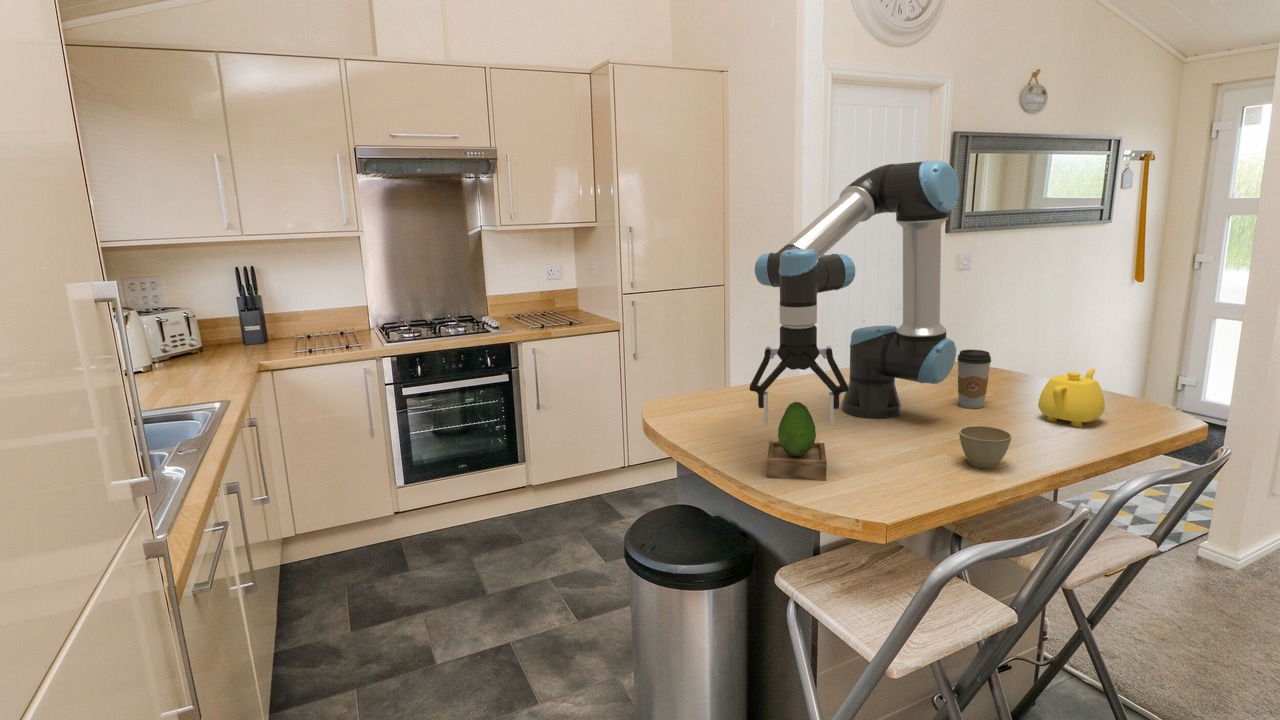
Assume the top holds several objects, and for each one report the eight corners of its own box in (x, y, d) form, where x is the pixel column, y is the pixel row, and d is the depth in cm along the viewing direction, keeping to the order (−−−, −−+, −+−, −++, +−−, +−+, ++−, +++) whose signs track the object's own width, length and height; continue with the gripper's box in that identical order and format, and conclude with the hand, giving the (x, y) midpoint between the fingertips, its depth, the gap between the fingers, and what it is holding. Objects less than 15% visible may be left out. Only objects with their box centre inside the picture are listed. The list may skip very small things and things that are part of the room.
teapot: (1117, 418, 177) (1123, 370, 174) (1081, 434, 165) (1086, 384, 163) (1061, 407, 187) (1066, 362, 185) (1023, 421, 176) (1027, 374, 174)
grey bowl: (948, 458, 154) (950, 427, 152) (991, 455, 155) (993, 424, 153) (973, 474, 144) (975, 441, 142) (1019, 471, 145) (1022, 438, 143)
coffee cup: (954, 408, 189) (958, 354, 186) (953, 400, 197) (957, 348, 194) (989, 411, 186) (993, 356, 183) (986, 402, 194) (990, 349, 190)
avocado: (792, 464, 145) (793, 408, 143) (770, 452, 152) (771, 400, 150) (823, 457, 148) (824, 403, 146) (800, 446, 155) (801, 394, 153)
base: (823, 459, 155) (824, 442, 155) (826, 480, 144) (826, 462, 143) (769, 457, 158) (769, 440, 157) (767, 477, 146) (767, 459, 146)
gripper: (859, 321, 145) (857, 418, 150) (738, 322, 150) (740, 416, 155) (862, 327, 138) (860, 429, 143) (736, 329, 143) (738, 427, 148)
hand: (798, 422), depth 149 cm, fingers open, 13 cm apart
